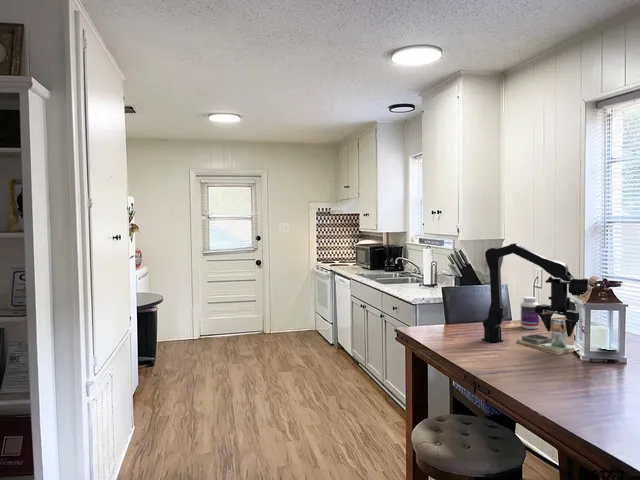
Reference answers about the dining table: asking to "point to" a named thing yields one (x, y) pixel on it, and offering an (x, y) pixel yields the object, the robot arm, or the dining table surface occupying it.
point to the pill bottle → (529, 313)
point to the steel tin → (558, 333)
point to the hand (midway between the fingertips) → (558, 333)
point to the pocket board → (544, 344)
